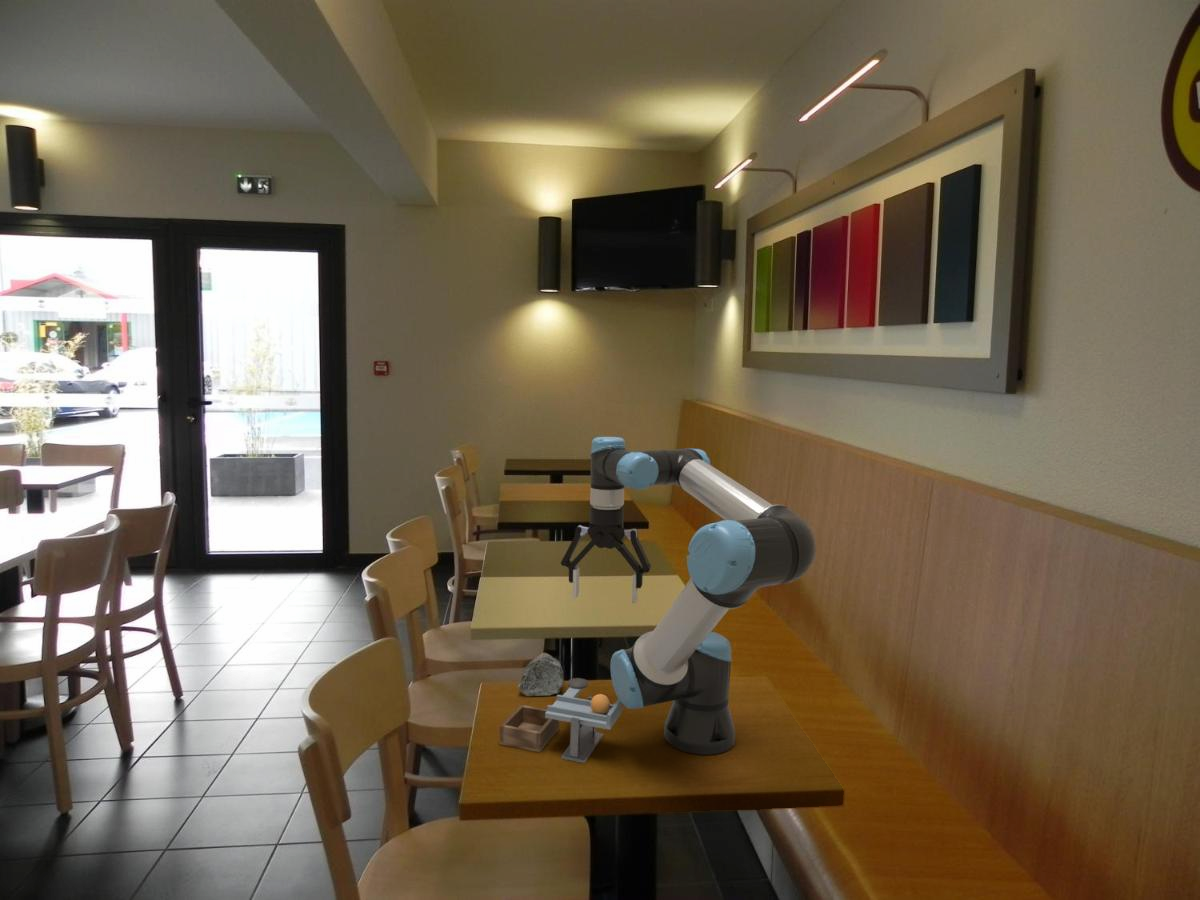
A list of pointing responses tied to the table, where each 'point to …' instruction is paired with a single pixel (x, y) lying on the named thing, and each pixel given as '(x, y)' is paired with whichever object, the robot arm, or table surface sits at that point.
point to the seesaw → (581, 708)
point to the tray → (528, 729)
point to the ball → (600, 704)
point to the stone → (542, 676)
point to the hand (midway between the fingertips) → (605, 599)
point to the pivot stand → (581, 741)
